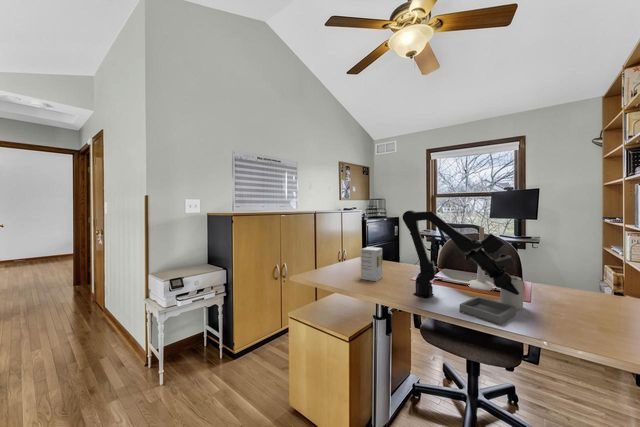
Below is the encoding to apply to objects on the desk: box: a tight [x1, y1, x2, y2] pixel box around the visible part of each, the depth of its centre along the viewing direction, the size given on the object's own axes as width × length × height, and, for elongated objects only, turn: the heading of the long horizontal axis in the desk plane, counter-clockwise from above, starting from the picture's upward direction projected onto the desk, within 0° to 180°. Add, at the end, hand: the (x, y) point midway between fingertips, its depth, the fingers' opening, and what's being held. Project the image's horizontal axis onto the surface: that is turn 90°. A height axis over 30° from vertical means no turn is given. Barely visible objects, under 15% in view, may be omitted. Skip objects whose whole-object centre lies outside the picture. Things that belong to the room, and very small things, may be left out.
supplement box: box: [360, 246, 383, 282], centre depth 150 cm, size 10×9×17 cm
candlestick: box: [467, 226, 494, 292], centre depth 133 cm, size 13×13×30 cm
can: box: [499, 275, 524, 311], centre depth 108 cm, size 8×8×12 cm
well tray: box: [459, 295, 517, 326], centre depth 103 cm, size 14×14×3 cm
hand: (515, 290), depth 107 cm, fingers closed on can, 7 cm apart
